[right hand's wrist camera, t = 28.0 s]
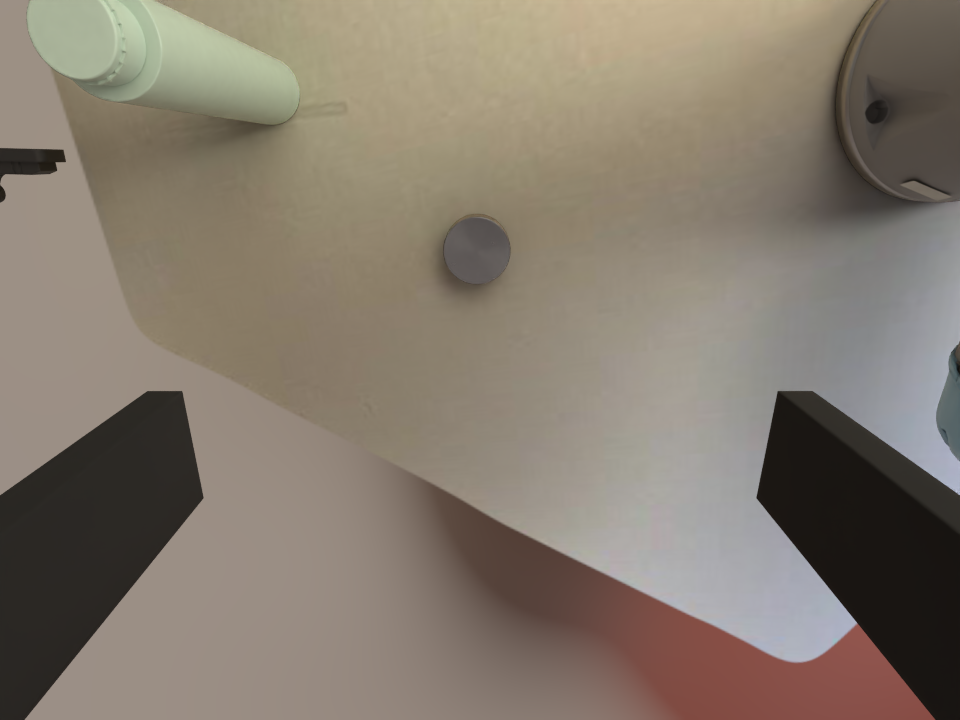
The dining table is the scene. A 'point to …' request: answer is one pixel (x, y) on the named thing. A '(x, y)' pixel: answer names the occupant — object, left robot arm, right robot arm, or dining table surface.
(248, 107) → the pale green bottle
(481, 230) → the lid
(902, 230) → the dining table surface
